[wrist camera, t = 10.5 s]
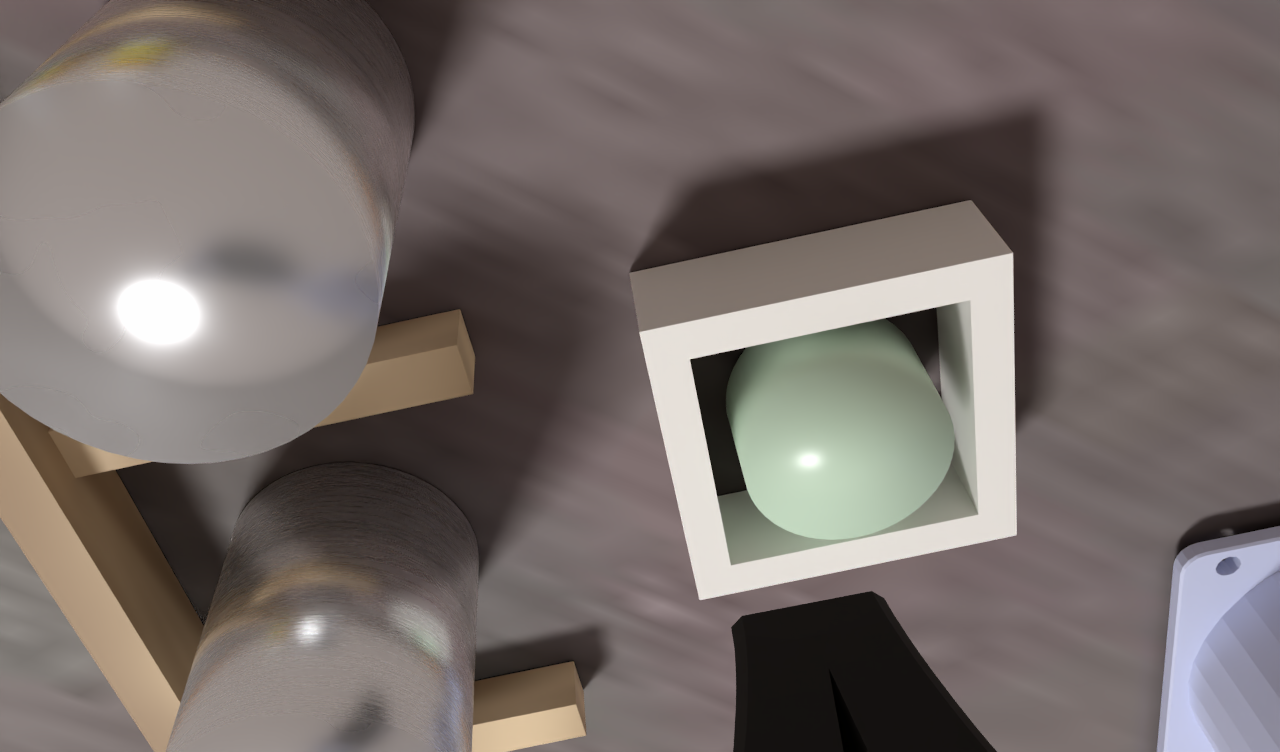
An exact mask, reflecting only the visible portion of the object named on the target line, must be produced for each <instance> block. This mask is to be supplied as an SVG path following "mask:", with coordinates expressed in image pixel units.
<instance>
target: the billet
mask: <svg viewBox="0 0 1280 752" xmlns="http://www.w3.org/2000/svg"><path fill="white" fill-rule="evenodd" d="M414 128H415V104H414V95H413V88H412V84H411V80H410V76H409V72H408V69H407V66H406V64H405V61H404V58H403V56H402V53H401V51H400V49H399V47H398V45H397V43H396V42H395V40H394V38H393V36H392V34H391V32H390V31H389V29H388V28H387V27H386V25H385V24H384V22H383V21H382V20H381V18H380V17H379V15H378V14H377V13H376V12H375V11H374V10H373V9H372V7H371V6H370V5H369V4H368V3H367V2H366V1H365V0H110V1H109V2H108V3H106V4H105V5H104V6H103V7H102V8H101V9H100V10H99V11H98V12H97V13H96V14H95V15H94V16H93V17H92V18H91V19H90V20H88V21H87V22H86V23H85V24H84V25H83V26H82V27H81V28H80V29H79V30H78V31H77V32H76V33H75V34H74V35H73V36H72V37H70V38H69V39H68V40H67V41H66V42H65V43H64V44H63V45H62V46H61V47H60V48H59V49H58V50H57V51H56V52H55V53H54V54H52V55H51V56H50V57H49V58H48V59H47V60H46V61H45V62H44V63H43V64H42V65H41V66H40V67H39V68H38V69H37V70H36V71H34V72H33V73H32V74H31V75H30V76H29V77H28V78H27V79H26V80H25V81H24V82H23V83H22V84H21V85H20V86H19V87H18V88H16V89H15V90H14V91H13V92H12V93H11V94H10V95H9V96H8V97H7V98H6V99H5V100H4V101H3V102H2V103H1V104H0V393H1V394H2V395H3V396H4V397H5V398H6V399H8V400H9V401H10V402H11V403H13V404H14V405H16V406H17V407H18V408H20V409H21V410H23V411H24V412H25V413H27V414H28V415H30V416H31V417H33V418H34V419H36V420H38V421H39V422H41V423H43V424H45V425H46V426H48V427H50V428H52V429H53V430H55V431H57V432H59V433H61V434H63V435H66V436H68V437H70V438H72V439H74V440H77V441H79V442H81V443H83V444H86V445H89V446H92V447H95V448H98V449H101V450H104V451H107V452H110V453H114V454H118V455H122V456H126V457H130V458H134V459H140V460H147V461H154V462H161V463H178V464H199V463H217V462H223V461H229V460H235V459H241V458H245V457H249V456H252V455H256V454H259V453H263V452H266V451H269V450H271V449H274V448H276V447H278V446H281V445H283V444H286V443H288V442H290V441H292V440H293V439H295V438H297V437H299V436H301V435H302V434H304V433H306V432H308V431H309V430H311V429H312V428H313V427H315V426H316V425H317V424H318V423H320V422H321V421H322V420H324V419H325V418H326V417H328V416H329V415H330V414H331V413H332V412H333V411H334V410H335V409H336V408H337V407H338V406H339V405H340V404H341V403H342V402H343V400H344V399H345V398H346V396H347V395H348V394H349V392H350V391H351V390H352V388H353V387H354V386H355V384H356V383H357V381H358V379H359V377H360V375H361V373H362V371H363V370H364V368H365V366H366V364H367V361H368V358H369V356H370V353H371V350H372V347H373V344H374V340H375V335H376V330H377V325H378V319H379V314H380V309H381V304H382V298H383V293H384V288H385V283H386V277H387V272H388V267H389V261H390V256H391V251H392V246H393V240H394V235H395V230H396V225H397V219H398V214H399V209H400V204H401V198H402V193H403V188H404V183H405V177H406V172H407V167H408V162H409V156H410V151H411V146H412V140H413V134H414Z"/></svg>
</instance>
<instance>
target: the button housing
mask: <svg viewBox="0 0 1280 752" xmlns="http://www.w3.org/2000/svg"><path fill="white" fill-rule="evenodd" d="M629 276H630V282H631V288H632V294H633V299H634V305H635V311H636V316H637V322H638V328H639V333H640V338H641V342H642V347H643V351H644V355H645V360H646V364H647V369H648V373H649V378H650V382H651V387H652V391H653V395H654V400H655V404H656V409H657V413H658V418H659V422H660V426H661V431H662V435H663V440H664V444H665V449H666V453H667V457H668V462H669V466H670V471H671V475H672V480H673V484H674V489H675V493H676V497H677V502H678V506H679V511H680V515H681V520H682V524H683V528H684V533H685V537H686V542H687V546H688V551H689V555H690V560H691V564H692V568H693V573H694V577H695V582H696V586H697V591H698V595H699V599H700V600H703V599H708V598H713V597H718V596H723V595H727V594H732V593H737V592H742V591H747V590H752V589H757V588H762V587H766V586H771V585H776V584H781V583H786V582H791V581H796V580H801V579H805V578H810V577H815V576H820V575H825V574H830V573H835V572H840V571H845V570H849V569H854V568H859V567H864V566H869V565H874V564H879V563H884V562H888V561H893V560H898V559H903V558H908V557H913V556H918V555H923V554H927V553H932V552H937V551H942V550H947V549H952V548H957V547H962V546H967V545H971V544H976V543H981V542H986V541H991V540H996V539H1001V538H1006V537H1010V536H1015V535H1017V521H1016V443H1015V364H1014V285H1013V252H1012V251H1011V250H1010V248H1009V247H1008V246H1007V245H1006V243H1005V242H1004V241H1003V239H1002V238H1001V237H1000V236H999V234H998V233H997V232H996V231H995V229H994V228H993V227H992V226H991V224H990V223H989V222H988V220H987V219H986V218H985V217H984V215H983V214H982V213H981V212H980V210H979V209H978V208H977V207H976V205H975V204H974V203H973V201H972V200H968V201H964V202H959V203H954V204H950V205H945V206H940V207H935V208H931V209H926V210H921V211H917V212H912V213H907V214H903V215H898V216H893V217H889V218H884V219H879V220H875V221H870V222H865V223H861V224H856V225H851V226H847V227H842V228H837V229H832V230H828V231H823V232H818V233H814V234H809V235H804V236H800V237H795V238H790V239H786V240H781V241H776V242H772V243H767V244H762V245H758V246H753V247H748V248H744V249H739V250H734V251H729V252H725V253H720V254H715V255H711V256H706V257H701V258H697V259H692V260H687V261H683V262H678V263H673V264H669V265H664V266H659V267H655V268H650V269H645V270H641V271H636V272H631V273H629ZM935 307H937V325H938V343H939V360H940V378H941V396H942V401H943V403H944V405H945V406H946V408H947V410H948V412H949V414H950V417H951V420H952V423H953V428H954V435H955V441H954V452H953V457H952V460H951V463H950V466H949V469H948V471H947V473H946V475H945V477H944V479H943V481H942V482H941V484H940V485H939V487H938V488H937V490H936V491H935V492H934V493H933V494H932V495H931V497H930V498H929V499H928V500H927V501H926V502H925V503H924V504H923V505H922V506H921V507H919V508H918V509H917V510H916V511H914V512H913V513H912V514H910V515H909V516H908V517H906V518H904V519H903V520H901V521H899V522H898V523H896V524H894V525H892V526H890V527H887V528H885V529H883V530H880V531H877V532H875V533H872V534H868V535H864V536H860V537H855V538H849V539H837V540H826V539H815V538H809V537H804V536H801V535H797V534H794V533H792V532H789V531H787V530H784V529H783V528H781V527H779V526H777V525H776V524H774V523H773V522H771V521H770V520H769V519H768V518H766V517H765V516H764V515H763V514H762V513H761V512H760V511H759V510H758V508H757V507H756V505H755V504H754V502H753V501H752V499H751V497H750V495H749V493H748V491H747V490H746V491H741V492H736V493H731V494H726V495H722V496H717V493H716V488H715V483H714V478H713V473H712V468H711V463H710V458H709V453H708V448H707V443H706V438H705V433H704V428H703V423H702V418H701V413H700V408H699V403H698V398H697V393H696V388H695V383H694V378H693V373H692V368H691V363H690V359H694V358H698V357H703V356H708V355H713V354H717V353H722V352H727V351H732V350H736V349H741V348H746V347H751V346H755V345H760V344H765V343H770V342H774V341H779V340H784V339H788V338H793V337H798V336H803V335H807V334H812V333H817V332H822V331H826V330H831V329H836V328H841V327H845V326H850V325H855V324H860V323H864V322H869V321H874V320H878V319H883V318H888V317H893V316H897V315H902V314H907V313H912V312H916V311H921V310H926V309H931V308H935Z"/></svg>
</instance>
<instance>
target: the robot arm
mask: <svg viewBox="0 0 1280 752" xmlns="http://www.w3.org/2000/svg"><path fill="white" fill-rule="evenodd" d="M1225 558H1226V559H1225ZM1223 559H1225V560H1223ZM1222 560H1223V561H1222ZM731 628H732V634H733V641H734V647H735V661H736V717H735V734H734V750H733V752H997V751H996V750H995V749H994V748H993V747H992V746H991V744H990V743H989V742H988V741H987V740H986V738H985V737H984V736H983V735H982V734H981V733H980V731H979V730H978V729H977V728H976V727H975V725H974V724H973V723H972V722H971V720H970V719H969V718H968V717H967V715H966V714H965V713H964V712H963V710H962V709H961V708H960V707H959V705H958V704H957V703H956V702H955V700H954V699H953V698H952V696H951V695H950V694H949V692H948V691H947V690H946V688H945V687H944V686H943V684H942V683H941V682H940V680H939V679H938V678H937V677H936V675H935V674H934V673H933V671H932V670H931V669H930V667H929V666H928V664H927V663H926V662H925V660H924V659H923V657H922V656H921V655H920V653H919V652H918V650H917V649H916V648H915V646H914V645H913V643H912V642H911V640H910V639H909V637H908V636H907V634H906V633H905V631H904V630H903V628H902V627H901V625H900V624H899V622H898V621H897V619H896V617H895V616H894V614H893V613H892V611H891V609H890V608H889V606H888V604H887V602H886V601H885V599H884V598H883V597H881V596H879V595H877V594H876V593H874V592H872V591H870V592H865V593H860V594H854V595H849V596H844V597H839V598H834V599H828V600H823V601H818V602H813V603H808V604H802V605H797V606H792V607H787V608H782V609H776V610H771V611H766V612H761V613H755V614H750V615H745V616H742V617H741V618H740V619H739V620H738V621H737V622H736V623H735V624H734V625H733V626H732V627H731ZM1157 752H1280V526H1277V527H1272V528H1267V529H1262V530H1257V531H1252V532H1247V533H1242V534H1238V535H1233V536H1228V537H1223V538H1218V539H1213V540H1208V541H1203V542H1198V543H1195V544H1192V545H1189V546H1188V547H1186V548H1185V549H1183V550H1182V551H1181V552H1180V553H1179V554H1178V556H1177V557H1176V559H1175V562H1174V565H1173V576H1172V587H1171V599H1170V610H1169V621H1168V632H1167V643H1166V654H1165V666H1164V677H1163V688H1162V699H1161V710H1160V721H1159V733H1158V744H1157Z"/></svg>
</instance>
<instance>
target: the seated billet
mask: <svg viewBox="0 0 1280 752" xmlns="http://www.w3.org/2000/svg"><path fill="white" fill-rule="evenodd" d="M478 574H479V552H478V545H477V541H476V537H475V534H474V532H473V530H472V527H471V525H470V523H469V522H468V520H467V518H466V517H465V515H464V514H463V512H462V511H461V510H460V509H459V508H458V507H457V506H456V504H455V503H454V502H453V501H452V500H451V499H449V498H448V497H447V496H446V495H445V494H444V493H443V492H441V491H440V490H438V489H437V488H435V487H434V486H432V485H431V484H429V483H427V482H425V481H423V480H422V479H420V478H418V477H416V476H413V475H411V474H408V473H405V472H403V471H400V470H397V469H393V468H389V467H385V466H380V465H374V464H368V463H351V462H347V463H330V464H324V465H317V466H313V467H309V468H305V469H302V470H298V471H296V472H293V473H291V474H288V475H286V476H284V477H282V478H280V479H278V480H276V481H275V482H273V483H271V484H270V485H268V486H267V487H266V488H264V489H263V490H262V491H260V492H259V493H258V494H257V495H256V496H255V497H254V498H253V499H252V500H251V501H250V502H249V503H248V505H247V506H246V507H245V509H244V510H243V511H242V513H241V515H240V517H239V519H238V521H237V523H236V525H235V528H234V531H233V535H232V538H231V541H230V544H229V548H228V551H227V554H226V557H225V561H224V564H223V567H222V570H221V573H220V577H219V580H218V583H217V586H216V590H215V593H214V596H213V599H212V603H211V606H210V609H209V612H208V616H207V619H206V622H205V625H204V628H203V632H202V635H201V638H200V641H199V645H198V648H197V651H196V654H195V658H194V661H193V664H192V667H191V671H190V674H189V677H188V680H187V683H186V687H185V690H184V693H183V696H182V700H181V703H180V706H179V709H178V713H177V716H176V719H175V722H174V725H173V729H172V732H171V735H170V738H169V742H168V745H167V748H166V751H165V752H472V731H473V705H474V679H475V652H476V626H477V600H478Z"/></svg>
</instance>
